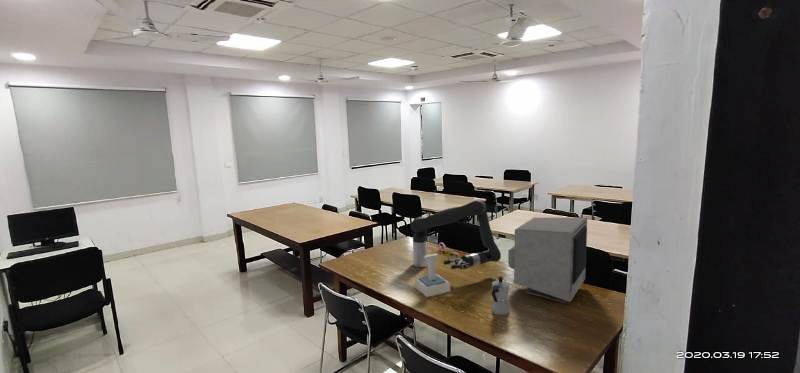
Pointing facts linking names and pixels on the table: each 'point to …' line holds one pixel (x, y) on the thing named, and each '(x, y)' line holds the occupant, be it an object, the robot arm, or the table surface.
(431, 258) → the snap cover
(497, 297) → the coffee maker
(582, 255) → the crt monitor
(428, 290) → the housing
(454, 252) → the pink and white arrow
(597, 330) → the table surface
